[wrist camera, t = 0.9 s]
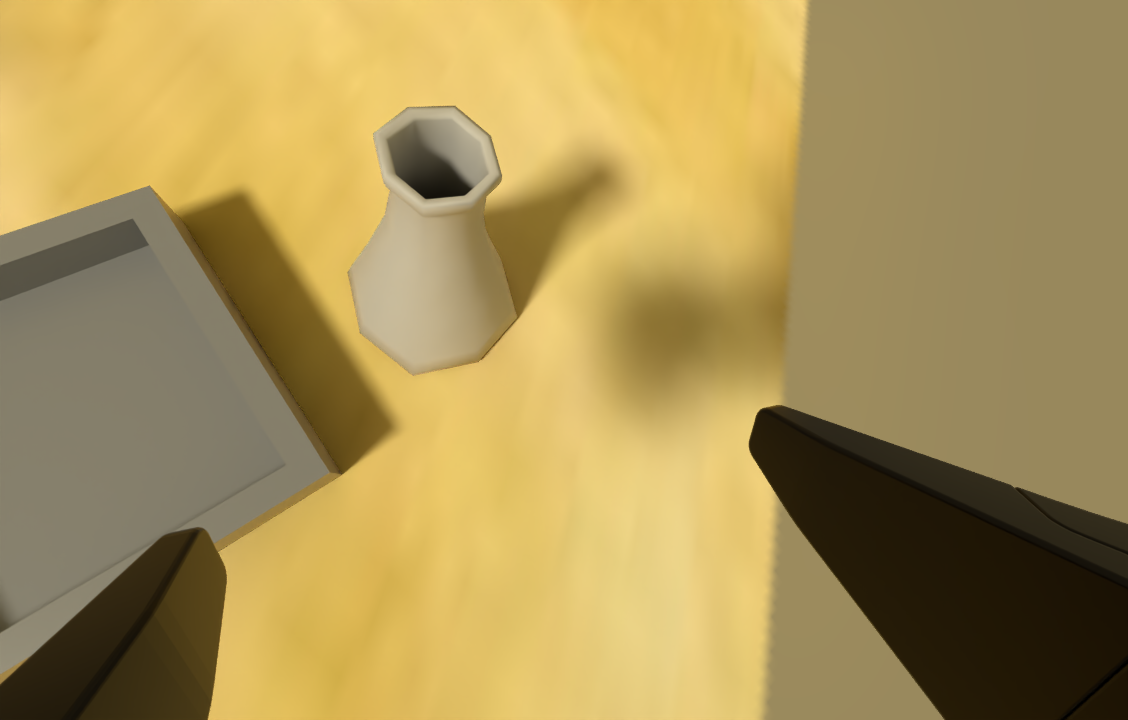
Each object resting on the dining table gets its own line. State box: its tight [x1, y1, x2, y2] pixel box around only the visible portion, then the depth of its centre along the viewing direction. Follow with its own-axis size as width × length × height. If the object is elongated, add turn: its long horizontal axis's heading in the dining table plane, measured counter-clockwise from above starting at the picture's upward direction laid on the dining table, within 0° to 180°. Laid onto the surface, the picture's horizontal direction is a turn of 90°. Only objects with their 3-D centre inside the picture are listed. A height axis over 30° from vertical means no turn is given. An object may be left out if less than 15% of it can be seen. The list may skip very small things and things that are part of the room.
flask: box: [348, 106, 517, 375], centre depth 17 cm, size 7×7×10 cm
